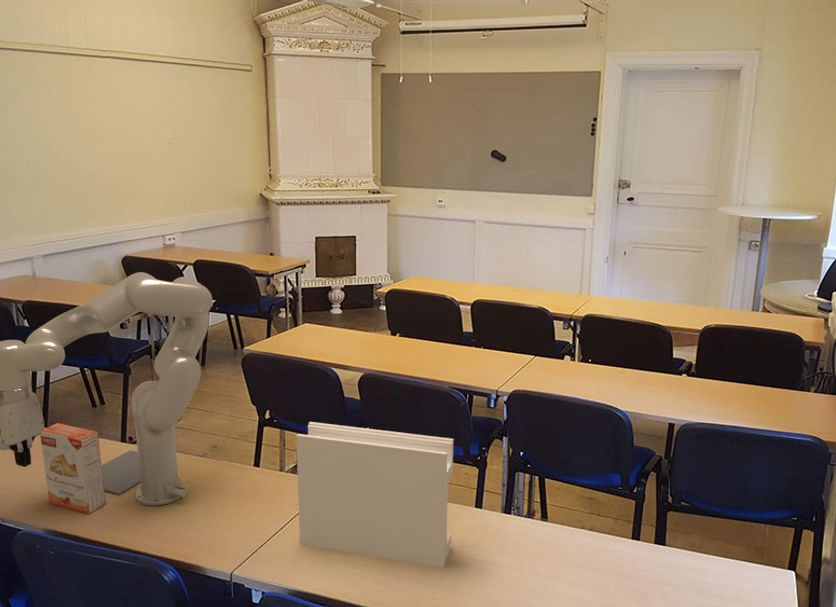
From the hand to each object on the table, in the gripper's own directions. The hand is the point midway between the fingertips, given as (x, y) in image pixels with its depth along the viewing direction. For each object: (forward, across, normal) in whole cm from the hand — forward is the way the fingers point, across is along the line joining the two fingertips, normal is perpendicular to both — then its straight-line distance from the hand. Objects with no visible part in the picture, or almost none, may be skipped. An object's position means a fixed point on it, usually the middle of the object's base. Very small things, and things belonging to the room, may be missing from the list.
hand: (23, 464), depth 173 cm
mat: (+17, +31, +1) cm, 35 cm away
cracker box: (+17, +12, -1) cm, 21 cm away
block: (+18, +27, -80) cm, 87 cm away
